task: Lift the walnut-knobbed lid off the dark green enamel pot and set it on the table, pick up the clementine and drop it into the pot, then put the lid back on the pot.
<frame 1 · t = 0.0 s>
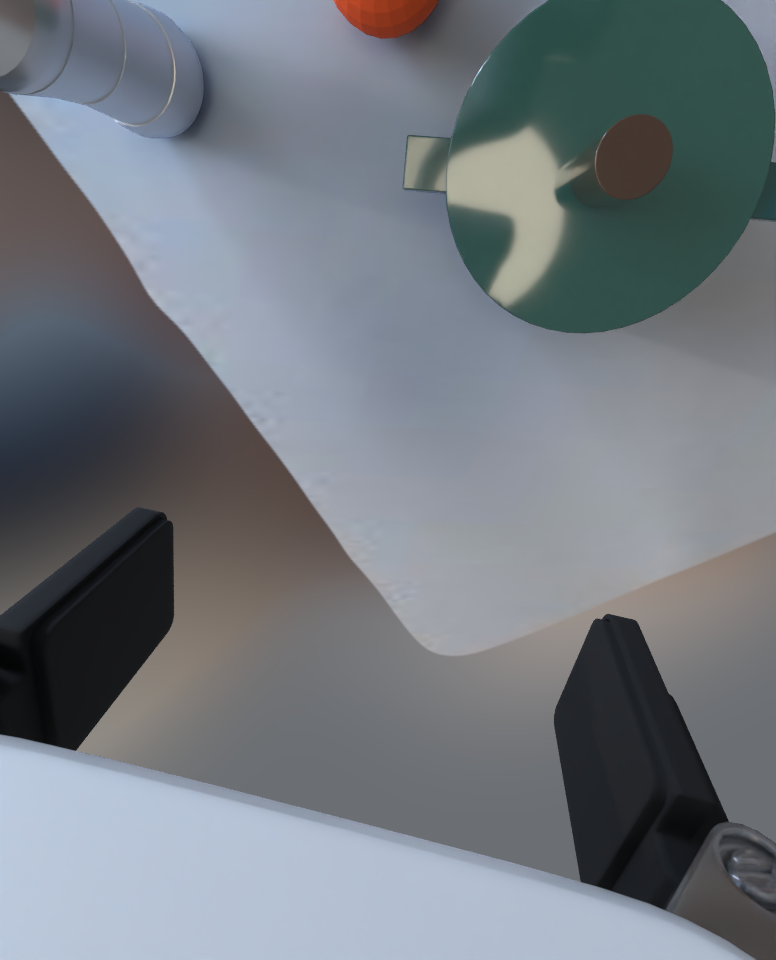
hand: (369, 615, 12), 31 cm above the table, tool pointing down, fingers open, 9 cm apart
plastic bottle: (170, 87, 35), on the table
pot: (565, 192, 34), on the table
pot lid: (598, 175, 25), point 10 cm above the table, touching pot
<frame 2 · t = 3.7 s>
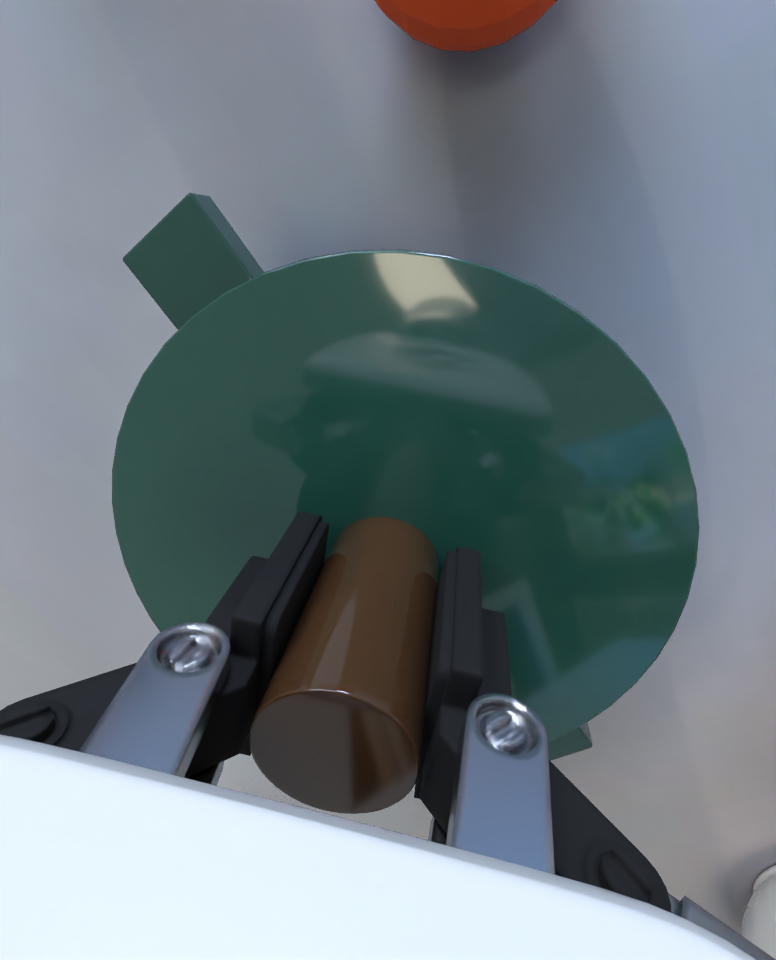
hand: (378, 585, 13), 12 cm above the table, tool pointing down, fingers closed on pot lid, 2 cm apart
pot: (420, 429, 23), on the table
pot lid: (387, 552, 14), point 10 cm above the table, touching gripper, pot
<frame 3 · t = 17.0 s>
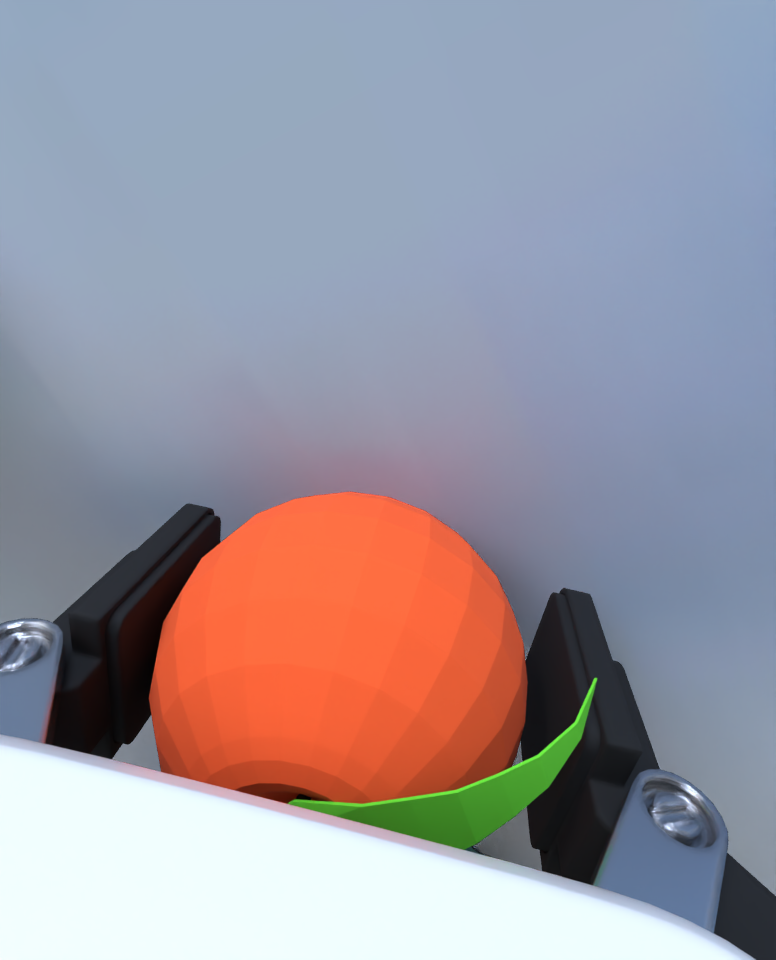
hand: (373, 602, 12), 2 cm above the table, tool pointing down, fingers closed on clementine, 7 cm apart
clementine: (395, 560, 13), on the table, touching gripper
when the fingers open (11 cm above the table, at t = 34.3 s): clementine stays where it is, resting on pot.
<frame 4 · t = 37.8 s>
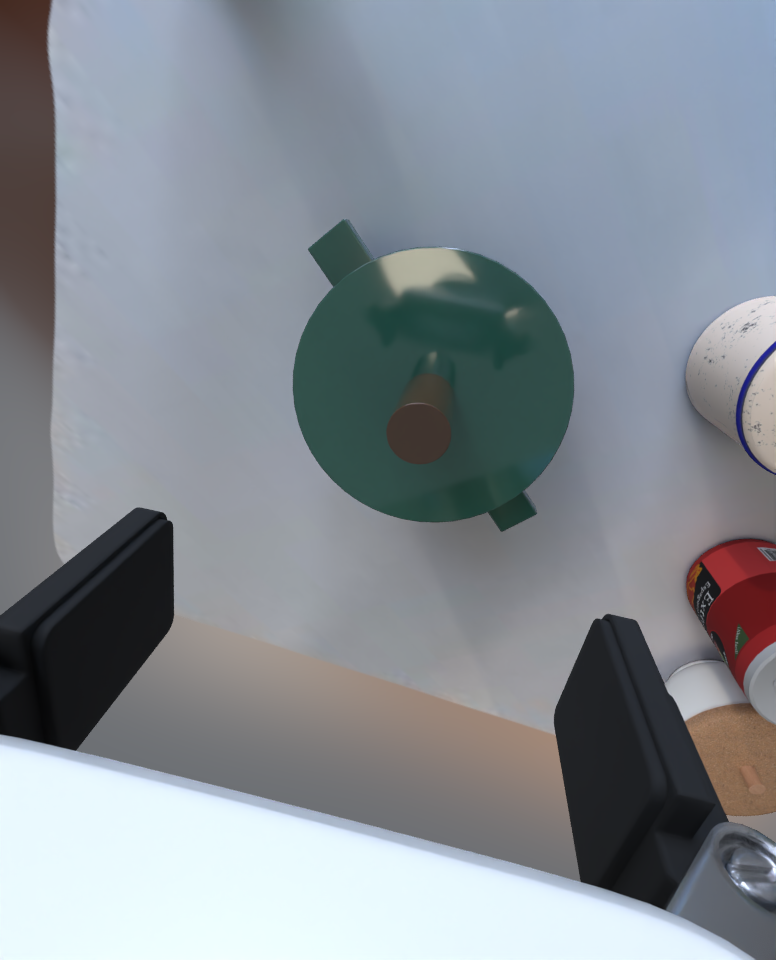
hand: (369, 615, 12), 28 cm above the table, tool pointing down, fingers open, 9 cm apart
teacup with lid: (762, 341, 34), on the table
trinket box: (703, 685, 45), on the table
canned food: (737, 576, 41), on the table
pot: (440, 357, 37), on the table
pot lid: (428, 396, 28), point 10 cm above the table, touching pot
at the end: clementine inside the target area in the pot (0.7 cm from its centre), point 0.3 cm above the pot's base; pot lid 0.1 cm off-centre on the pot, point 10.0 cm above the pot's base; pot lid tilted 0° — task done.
